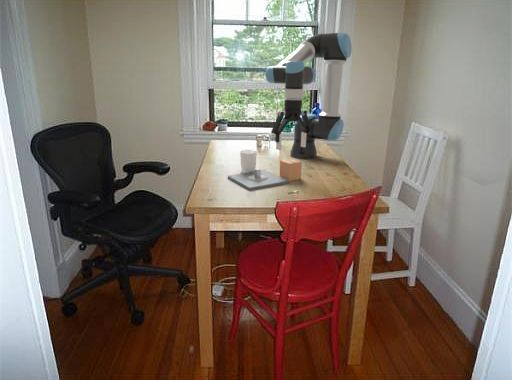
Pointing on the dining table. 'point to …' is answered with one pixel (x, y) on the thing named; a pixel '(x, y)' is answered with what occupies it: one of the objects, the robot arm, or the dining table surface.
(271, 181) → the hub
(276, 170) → the dining table surface
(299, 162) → the peach colored cube
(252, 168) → the white cup
